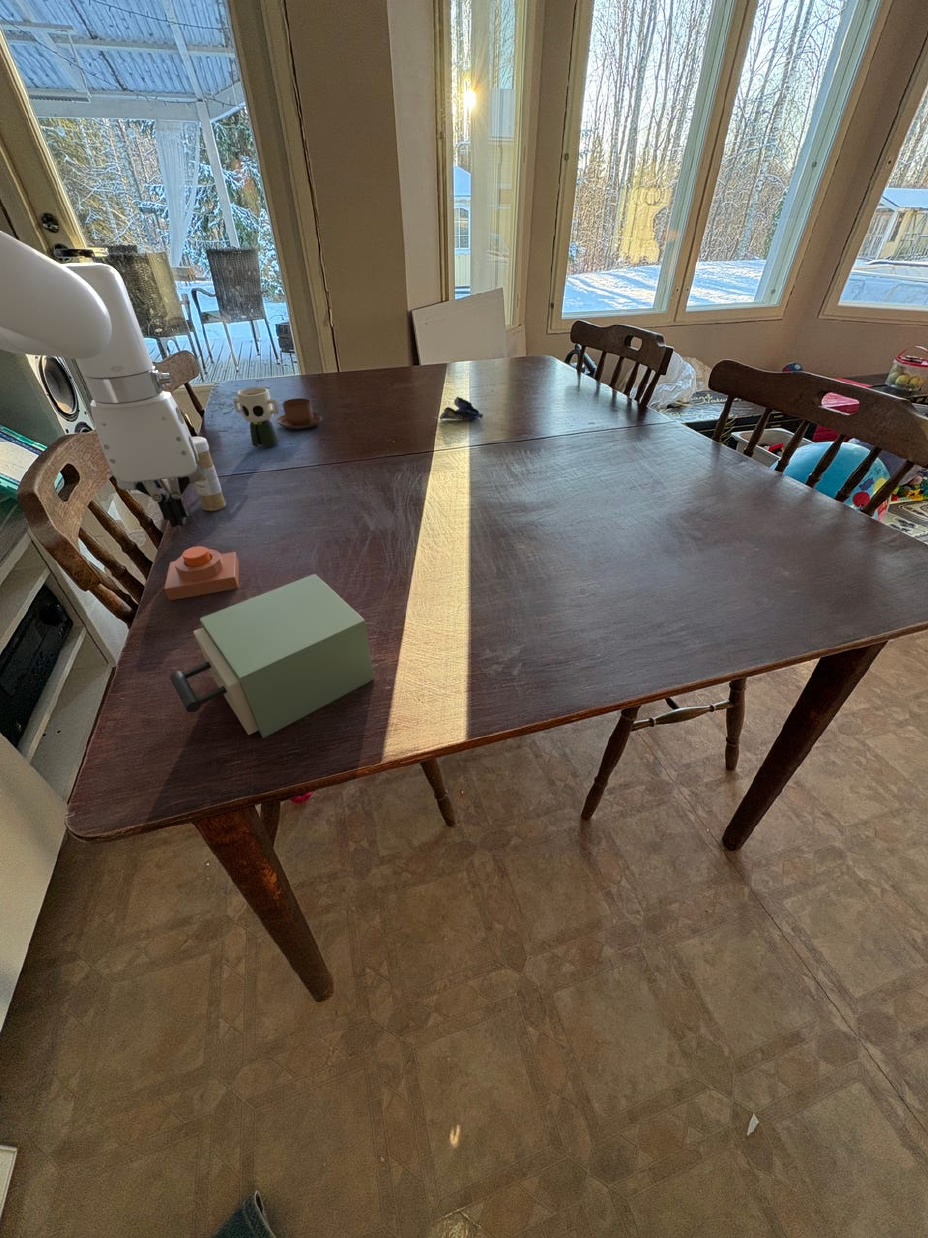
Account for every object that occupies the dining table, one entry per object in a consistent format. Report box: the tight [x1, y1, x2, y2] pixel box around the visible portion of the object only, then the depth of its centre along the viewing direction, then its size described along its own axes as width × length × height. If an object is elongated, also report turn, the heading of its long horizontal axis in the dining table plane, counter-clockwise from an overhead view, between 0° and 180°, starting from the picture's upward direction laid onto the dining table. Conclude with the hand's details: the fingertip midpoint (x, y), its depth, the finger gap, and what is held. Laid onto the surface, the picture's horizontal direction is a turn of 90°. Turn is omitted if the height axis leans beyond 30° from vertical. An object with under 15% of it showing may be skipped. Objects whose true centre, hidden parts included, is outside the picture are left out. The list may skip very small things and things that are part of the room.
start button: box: [181, 545, 211, 567], centre depth 79 cm, size 4×4×2 cm
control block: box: [163, 548, 240, 601], centre depth 81 cm, size 10×8×4 cm
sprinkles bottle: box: [191, 436, 227, 512], centre depth 98 cm, size 5×5×13 cm
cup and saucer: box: [276, 397, 323, 430], centre depth 139 cm, size 12×12×6 cm
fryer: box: [199, 573, 375, 739], centre depth 62 cm, size 15×13×10 cm
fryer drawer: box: [169, 626, 259, 736], centre depth 60 cm, size 18×11×8 cm, turn 129°
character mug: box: [232, 386, 280, 448], centre depth 125 cm, size 11×7×13 cm, turn 85°
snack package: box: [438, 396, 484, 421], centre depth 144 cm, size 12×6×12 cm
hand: (179, 521), depth 74 cm, fingers closed
